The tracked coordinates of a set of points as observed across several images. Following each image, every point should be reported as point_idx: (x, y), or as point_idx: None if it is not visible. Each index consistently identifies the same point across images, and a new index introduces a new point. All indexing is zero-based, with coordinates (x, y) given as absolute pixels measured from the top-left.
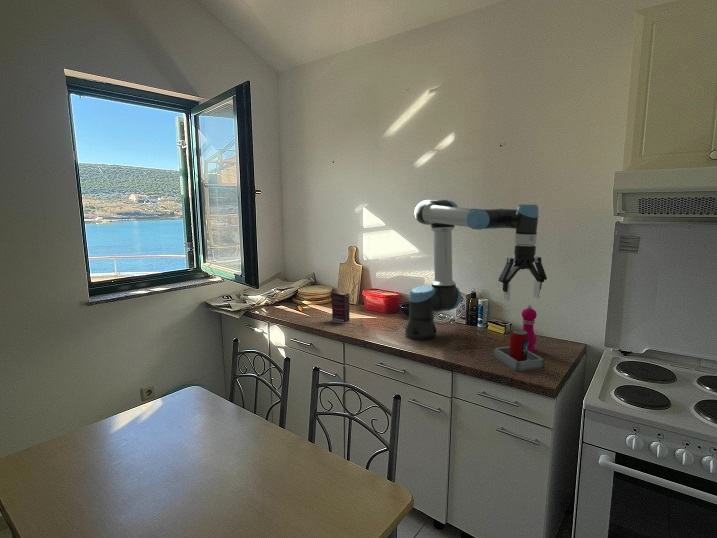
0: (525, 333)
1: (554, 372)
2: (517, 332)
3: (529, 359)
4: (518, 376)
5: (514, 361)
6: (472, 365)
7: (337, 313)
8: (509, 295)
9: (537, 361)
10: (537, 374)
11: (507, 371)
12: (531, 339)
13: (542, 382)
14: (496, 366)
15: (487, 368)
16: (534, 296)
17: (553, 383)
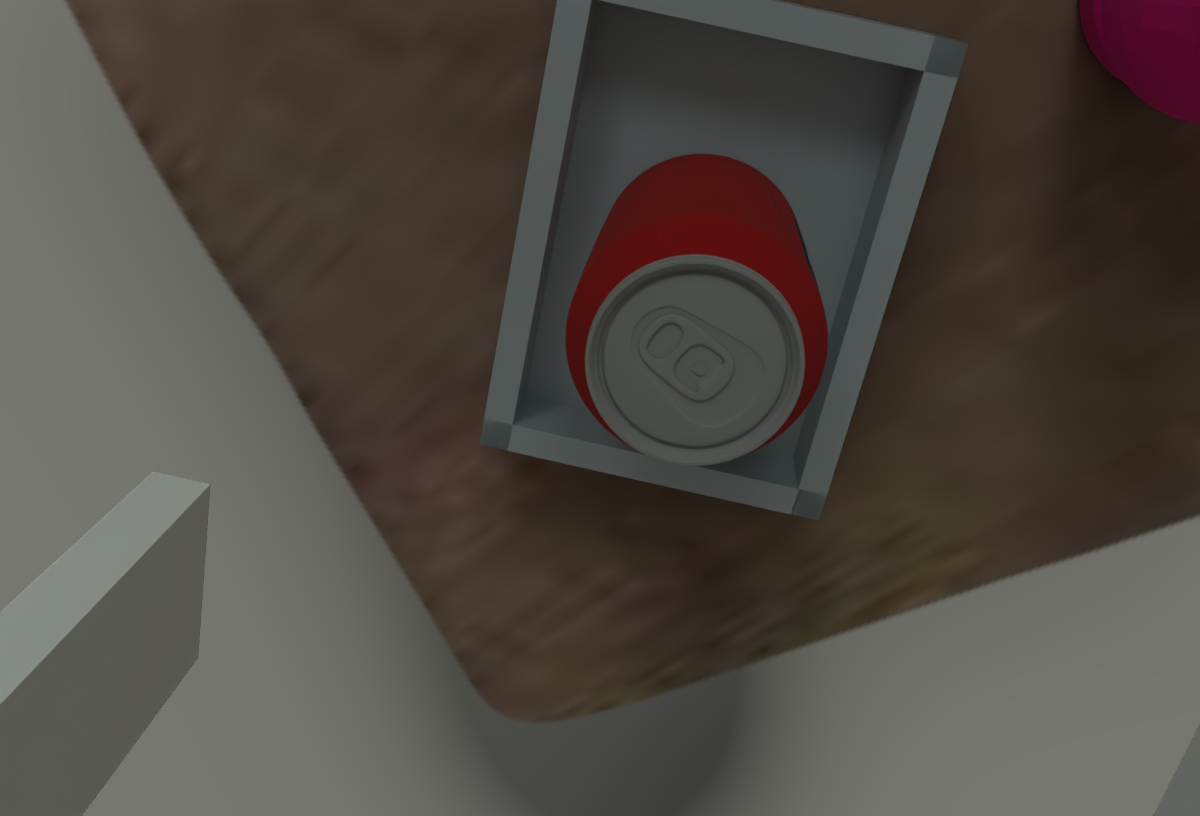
0: (696, 464)
1: (804, 584)
2: (643, 358)
3: (839, 295)
4: (421, 484)
5: (489, 388)
6: (164, 66)
7: None
8: (117, 751)
9: (727, 494)
10: (619, 538)
11: (408, 360)
12: (1196, 115)
13: (518, 653)
14: (393, 215)
15: (268, 209)
16: (1196, 774)
17: (586, 704)
